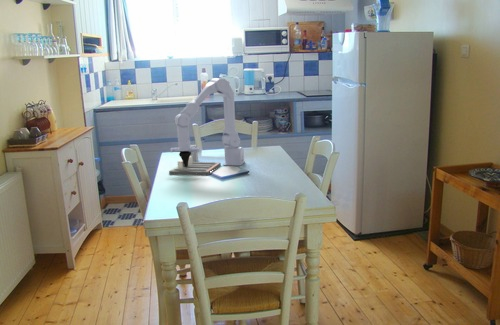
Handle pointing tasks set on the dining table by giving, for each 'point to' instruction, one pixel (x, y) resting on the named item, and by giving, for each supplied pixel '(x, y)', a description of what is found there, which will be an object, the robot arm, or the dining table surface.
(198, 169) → the breaker panel
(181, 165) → the block
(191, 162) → the block
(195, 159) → the medicine box
